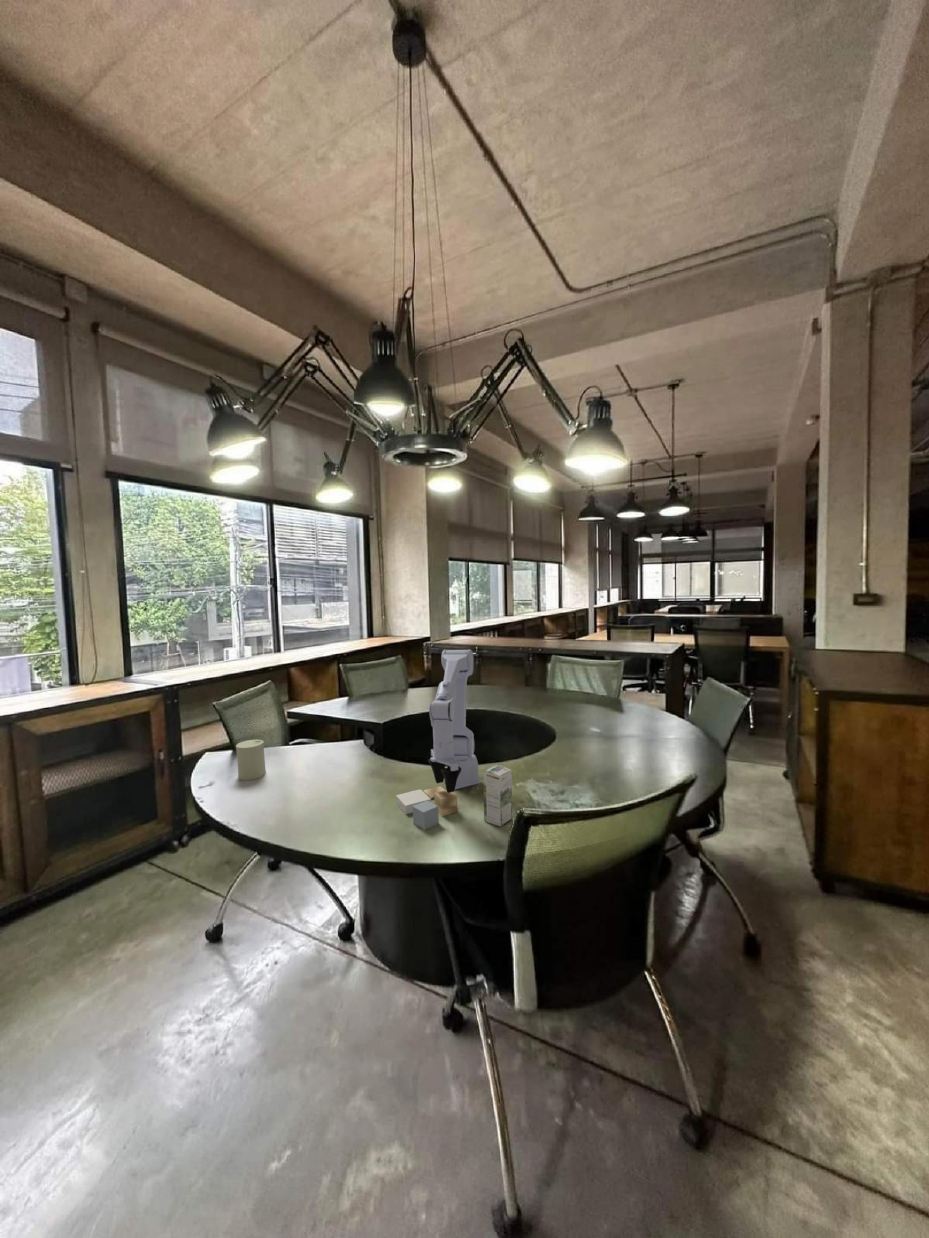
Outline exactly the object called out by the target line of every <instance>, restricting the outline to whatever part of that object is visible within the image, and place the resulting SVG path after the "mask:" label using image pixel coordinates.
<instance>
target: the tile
mask: <svg viewBox="0 0 929 1238" xmlns="http://www.w3.org/2000/svg"><path fill="white" fill-rule="evenodd" d="M444 790H446V788H445V789H444V788H443V787H442V786H441V785H440V786H436V787H432V788H428V789H424V790H422V791H423V792H424V793H425V794H426V795H427V796H428V797H429V798H430V799H431V801H433V800H434V793H436V792H440V791H444Z"/></svg>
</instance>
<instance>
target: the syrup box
mask: <svg viewBox="0 0 929 1238" xmlns="http://www.w3.org/2000/svg"><path fill="white" fill-rule="evenodd" d="M512 771H513V770H512V769H510V768H507V767H505V766H502V765H493V766H491V767H490V768H488V769H486V770H484V771H483V773H482V775H483V821H484V822H486V823H489V824H491V825H494V826H498V827H500V828H501V827H502V826H504V825H506V824H507V823H509V821H511V820H512V819H513V786H512V785H513V779H512V777H513V776H512V775H513V773H512Z"/></svg>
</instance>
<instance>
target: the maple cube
mask: <svg viewBox="0 0 929 1238" xmlns="http://www.w3.org/2000/svg"><path fill="white" fill-rule="evenodd" d="M434 804H435V805H437V806H438V815H440V816H441V817H444V816H448V815H451V814H455V813H458V812H459V811H458V809H459V808H458V795H457V794H456V793H455V792H450V793H448V792H447V790H446V789H445V790H444V791H440V792H436V793H434Z"/></svg>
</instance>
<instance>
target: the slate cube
mask: <svg viewBox="0 0 929 1238" xmlns="http://www.w3.org/2000/svg"><path fill="white" fill-rule="evenodd" d="M412 819H413V823H412V824H413V825H415V826H416V827H419V828H421V829H422V830H424V831H425V830H428V829H429V828H431V827H434V826H436V825H439V822H440V821H439V819H440V818H439V813H438V806H437V805H435V803H433V802H432V801H431V802H429V801H425V802H422V803H420V804H417V805H415V806H413V813H412Z"/></svg>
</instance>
